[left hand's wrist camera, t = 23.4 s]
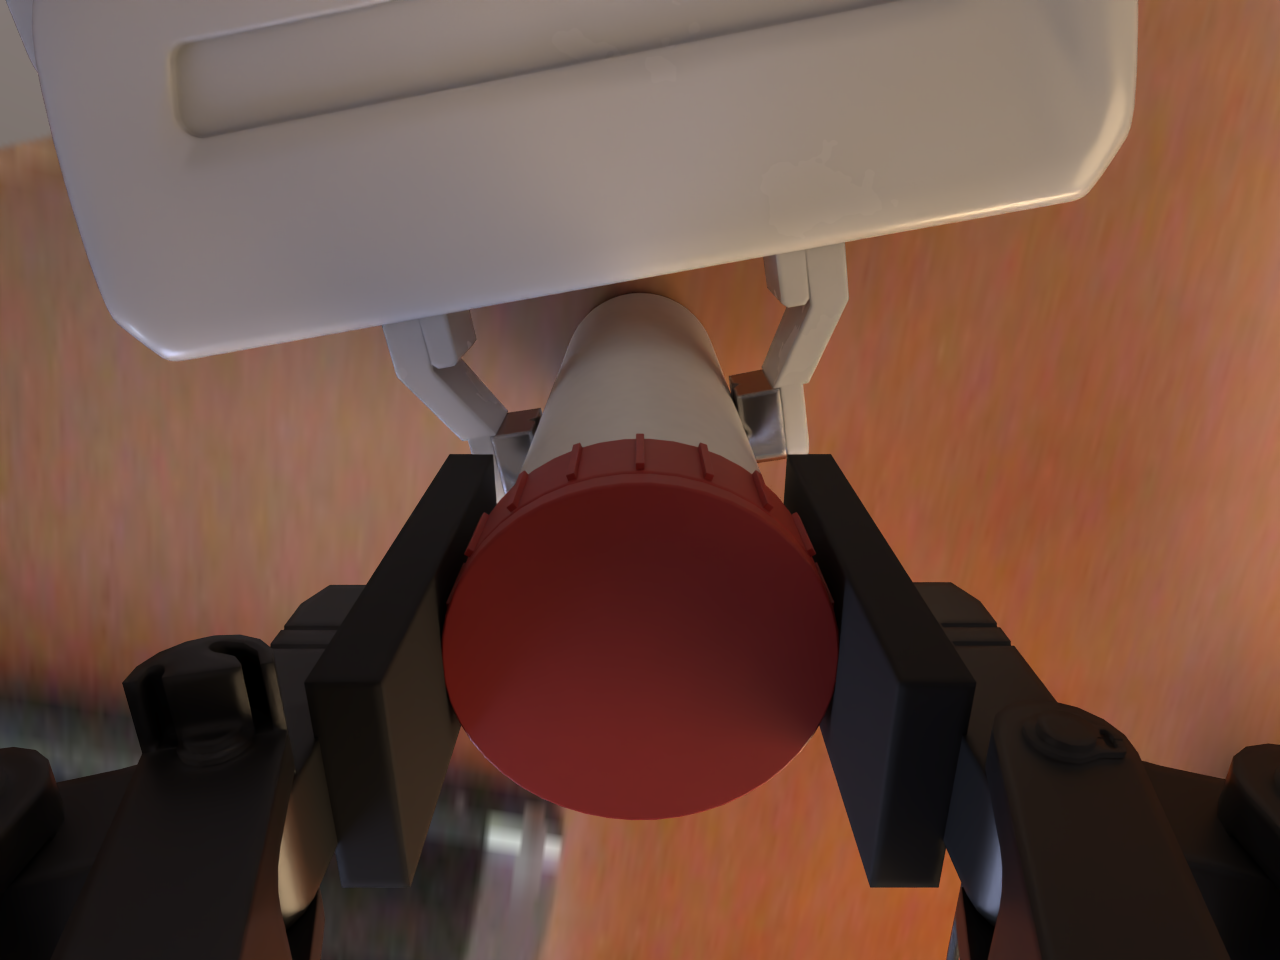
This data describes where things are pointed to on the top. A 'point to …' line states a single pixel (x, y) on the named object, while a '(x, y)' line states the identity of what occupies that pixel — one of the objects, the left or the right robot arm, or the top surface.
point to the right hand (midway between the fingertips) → (648, 473)
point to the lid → (640, 632)
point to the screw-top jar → (640, 384)
